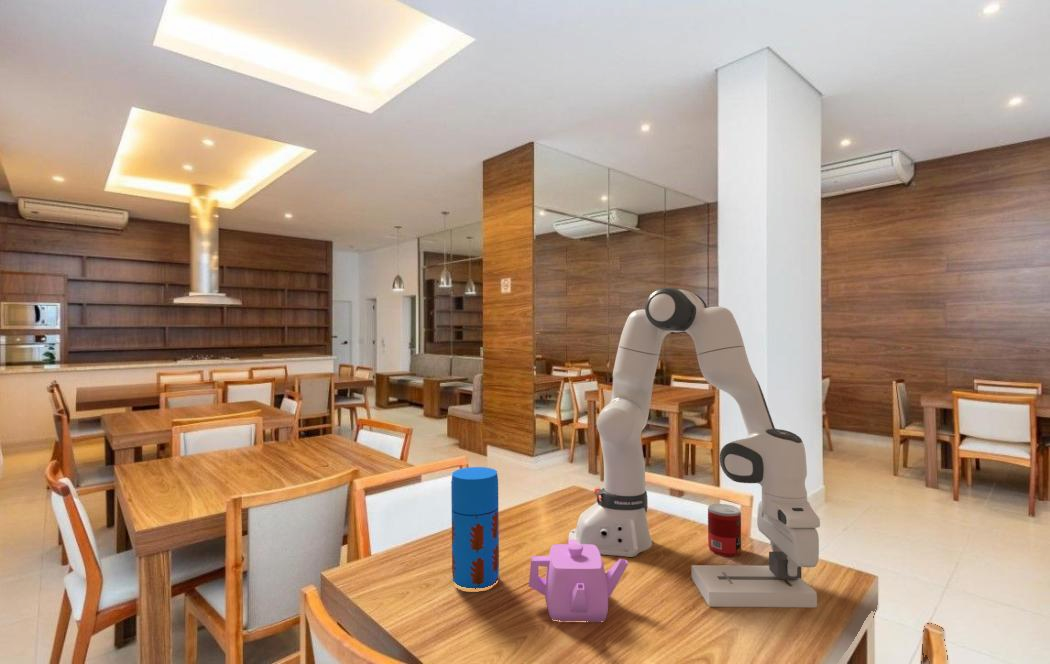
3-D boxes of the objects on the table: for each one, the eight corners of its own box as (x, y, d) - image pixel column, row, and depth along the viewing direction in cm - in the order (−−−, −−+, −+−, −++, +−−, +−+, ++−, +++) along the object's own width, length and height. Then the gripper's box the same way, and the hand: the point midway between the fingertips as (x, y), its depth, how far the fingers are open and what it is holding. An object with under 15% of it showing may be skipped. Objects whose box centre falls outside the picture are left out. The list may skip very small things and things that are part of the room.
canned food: (744, 558, 125) (743, 514, 125) (710, 555, 127) (710, 512, 127) (737, 545, 133) (737, 504, 133) (706, 543, 134) (705, 502, 134)
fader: (777, 581, 107) (777, 559, 107) (769, 572, 111) (769, 551, 111) (801, 581, 106) (801, 559, 106) (792, 572, 110) (791, 551, 110)
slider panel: (709, 606, 103) (708, 591, 103) (691, 578, 115) (691, 564, 115) (817, 607, 102) (816, 592, 102) (788, 578, 114) (788, 565, 114)
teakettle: (571, 577, 116) (571, 524, 116) (633, 605, 104) (632, 546, 104) (519, 605, 105) (518, 546, 105) (581, 640, 92) (581, 573, 92)
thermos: (507, 575, 117) (506, 469, 117) (484, 597, 108) (483, 481, 108) (467, 566, 122) (466, 464, 122) (442, 587, 112) (441, 476, 112)
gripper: (749, 490, 119) (750, 548, 119) (792, 522, 99) (793, 592, 99) (776, 490, 119) (777, 548, 119) (825, 522, 98) (826, 592, 98)
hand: (785, 568), depth 108 cm, fingers closed on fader, 4 cm apart
